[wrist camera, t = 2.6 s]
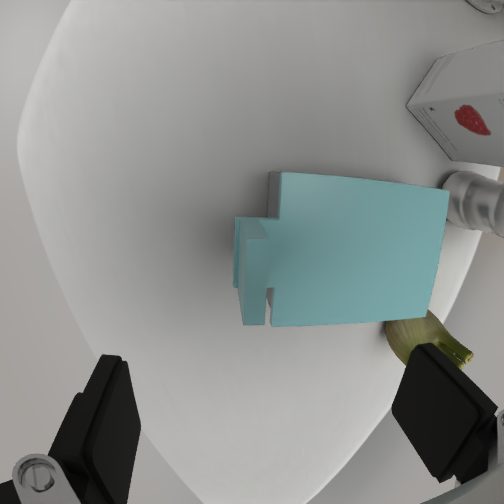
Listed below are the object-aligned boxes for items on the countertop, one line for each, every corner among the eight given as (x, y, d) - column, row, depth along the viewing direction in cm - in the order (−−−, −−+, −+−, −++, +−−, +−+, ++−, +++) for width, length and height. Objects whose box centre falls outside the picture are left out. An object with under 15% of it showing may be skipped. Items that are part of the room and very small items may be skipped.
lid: (438, 188, 24) (494, 201, 17) (416, 309, 27) (458, 346, 20) (236, 169, 22) (243, 173, 15) (231, 317, 25) (236, 370, 19)
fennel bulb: (377, 339, 35) (426, 401, 24) (380, 303, 34) (437, 361, 22) (416, 328, 36) (470, 382, 24) (420, 294, 34) (482, 343, 23)
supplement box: (402, 106, 28) (508, 89, 13) (436, 57, 26) (531, 29, 12) (452, 163, 30) (554, 180, 16) (480, 113, 28) (574, 112, 14)
